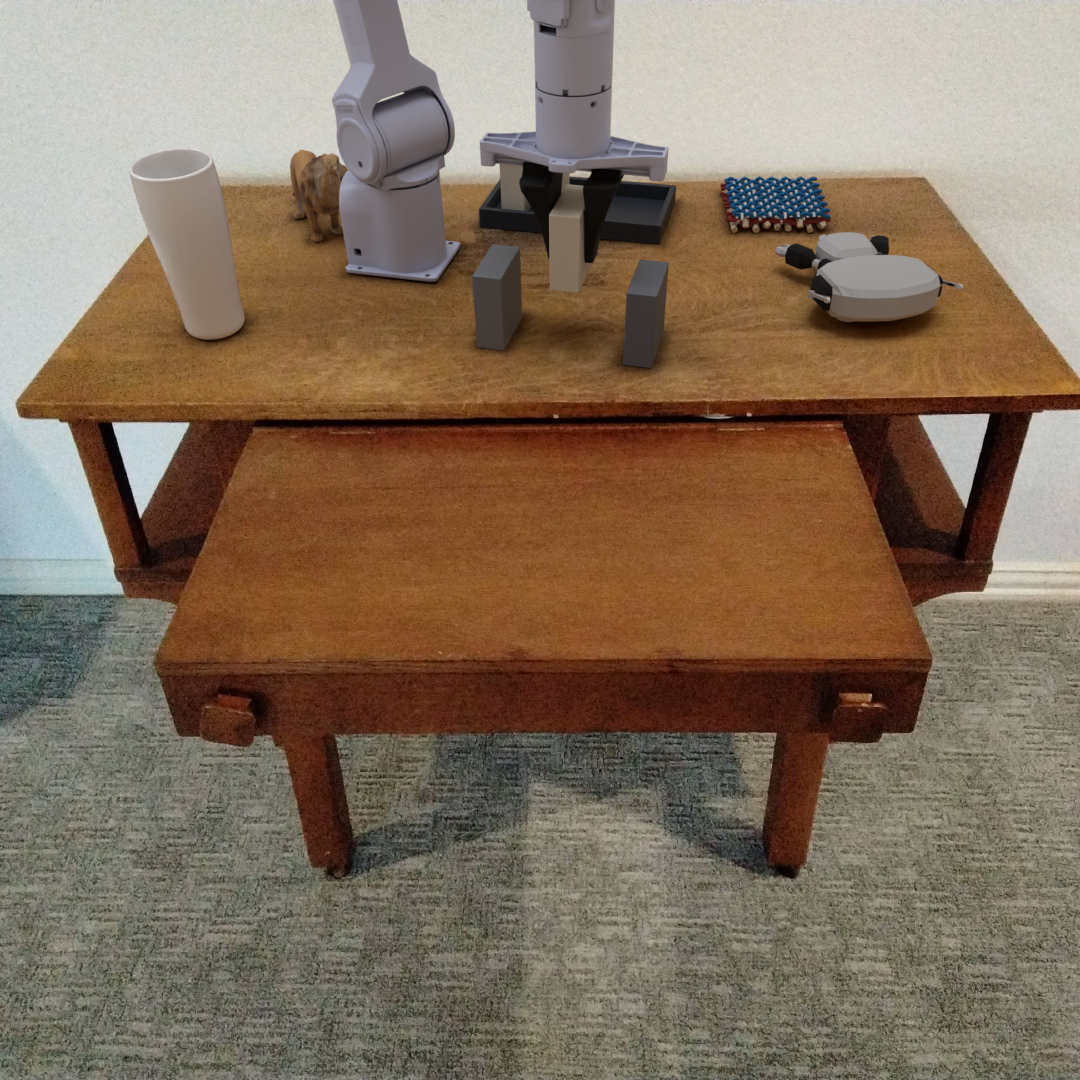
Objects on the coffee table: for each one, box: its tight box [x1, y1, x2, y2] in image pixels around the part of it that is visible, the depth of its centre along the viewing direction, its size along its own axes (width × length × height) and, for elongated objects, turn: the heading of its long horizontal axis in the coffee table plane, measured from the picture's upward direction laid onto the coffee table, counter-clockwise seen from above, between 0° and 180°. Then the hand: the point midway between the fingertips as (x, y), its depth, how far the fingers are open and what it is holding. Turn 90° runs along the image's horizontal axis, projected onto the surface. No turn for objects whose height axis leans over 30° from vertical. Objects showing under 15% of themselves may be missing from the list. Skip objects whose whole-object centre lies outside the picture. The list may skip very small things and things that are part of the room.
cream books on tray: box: [499, 164, 571, 211], centre depth 103 cm, size 6×6×6 cm
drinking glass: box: [128, 147, 246, 341], centre depth 83 cm, size 7×7×15 cm
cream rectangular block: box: [549, 184, 594, 294], centre depth 80 cm, size 2×6×6 cm, turn 165°
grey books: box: [471, 243, 669, 369], centre depth 83 cm, size 16×6×7 cm, turn 75°
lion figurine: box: [289, 149, 349, 243], centre depth 101 cm, size 15×5×9 cm, turn 33°
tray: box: [478, 176, 677, 245], centre depth 104 cm, size 19×10×2 cm, turn 75°
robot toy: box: [774, 231, 964, 323], centre depth 89 cm, size 12×4×15 cm
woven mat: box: [719, 175, 832, 234], centre depth 103 cm, size 10×11×2 cm
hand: (572, 255), depth 81 cm, fingers closed on cream rectangular block, 2 cm apart
